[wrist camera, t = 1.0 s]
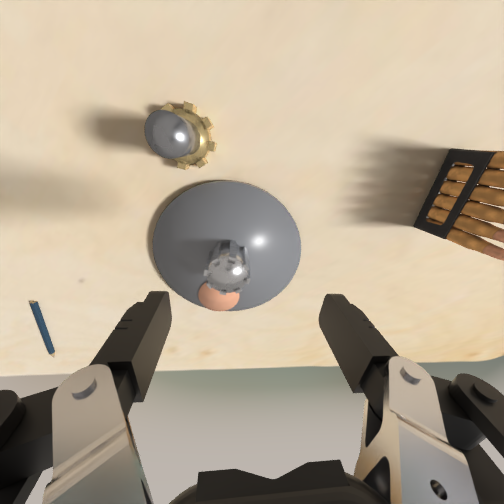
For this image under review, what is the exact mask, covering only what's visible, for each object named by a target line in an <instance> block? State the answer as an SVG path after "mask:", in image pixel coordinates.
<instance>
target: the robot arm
mask: <svg viewBox="0 0 504 504" xmlns="http://www.w3.org/2000/svg"><path fill="white" fill-rule="evenodd" d="M171 321H172V314H171V306H170V299H169V293H168V292H167V291H151V292H149V294H148V295H147V297H146V299H145V300H144V302H137V303H136V304H134V305H133V306H132V307H130V308H129V309H128V310H127V311H126V312H125V314H124V315H123V317H122V318H121V321H120V322H119V323H118V324H117V326H116V327H115V330H113V331H112V333H111V334H110V336H109V337H108V339H107V340H106V342H105V343H104V345H103V346H102V347H101V349H100V350H99V352H98V353H97V355H96V356H95V358H94V359H93V361H92V362H91V363H90V365H89V366H87V367H84V368H82V369H80V370H78V371H76V372H75V373H73V374H72V375H70V376H69V377H68V378H67V379H66V380H64V381H63V382H62V384H61V385H60V386H59V387H56V388H53V389H50V390H47V391H43V392H40V393H37V394H33V395H30V396H27V397H24V398H19V397H18V395H17V394H16V393H15V392H14V391H11V390H0V504H25V502H26V500H27V499H28V497H29V495H30V493H31V491H32V489H33V488H34V486H35V484H36V482H37V481H38V479H39V477H40V475H41V473H42V471H43V470H46V469H48V468H50V467H53V477H52V481H51V482H50V483H48V484H47V486H46V488H45V491H44V495H43V503H42V504H154V503H153V500H152V496H151V493H150V489H149V486H148V483H147V480H146V477H145V474H144V471H143V467H142V464H141V460H140V457H139V453H138V450H137V447H136V443H135V439H134V436H133V433H132V429H131V426H130V422H129V418H128V414H129V411H130V408H131V406H132V404H133V402H143V401H144V399H145V395H146V393H147V390H148V388H149V385H150V382H151V379H152V376H153V374H154V371H155V368H156V366H157V363H158V360H159V357H160V355H161V352H162V349H163V346H164V344H165V341H166V338H167V335H168V333H169V330H170V327H171ZM319 325H320V328H321V330H322V332H323V334H324V336H325V338H326V340H327V342H328V344H329V346H330V348H331V350H332V352H333V354H334V356H335V358H336V360H337V362H338V364H339V366H340V368H341V370H342V372H343V374H344V376H345V378H346V380H347V382H348V384H349V386H350V388H351V390H352V391H353V393H364V394H365V395H366V397H367V399H366V401H365V404H364V415H363V427H362V437H361V447H360V453H359V457H358V460H357V463H356V466H355V471H354V476H353V475H350V474H348V473H346V472H344V469H343V466H342V464H341V461H340V460H330V461H319V462H308V463H306V464H304V465H302V466H300V467H298V468H296V469H294V470H292V471H290V472H289V473H287V474H285V475H283V476H281V477H279V478H277V479H269V478H265V477H262V476H258V475H255V474H252V473H248V472H245V471H241V470H238V469H228V470H217V471H205V472H199V473H198V482H197V484H196V485H194V486H192V487H189V488H188V489H187V490H185V491H184V492H182V493H181V494H179V495H178V496H177V497H176V498H175V499H174V500H172V501H171V502H170V503H169V504H504V474H503V473H502V472H501V471H500V469H499V468H498V467H497V466H496V465H495V463H494V462H493V461H492V460H491V458H490V457H489V456H488V455H487V453H486V452H485V451H484V450H483V448H482V447H481V446H480V445H479V443H480V442H481V441H483V440H484V439H485V438H487V439H488V440H489V441H490V442H491V443H492V445H493V446H494V447H495V448H496V449H497V450H498V452H499V453H500V454H501V455H502V456H503V458H504V396H503V395H502V394H501V393H500V392H499V391H498V390H497V389H495V388H494V387H493V386H491V385H490V384H488V383H487V382H485V381H483V380H481V379H479V378H477V377H475V376H472V375H469V374H458V375H457V377H456V378H455V379H454V380H453V381H449V380H445V379H441V378H438V377H434V376H430V375H429V374H428V373H427V372H426V371H425V370H424V369H423V368H422V367H421V366H419V365H418V364H417V363H415V362H413V361H411V360H409V359H407V358H404V357H400V356H398V354H397V353H396V352H395V351H394V349H393V348H392V347H391V346H390V345H389V343H388V342H387V341H386V340H385V338H384V337H383V336H382V335H381V334H380V332H379V331H378V330H377V329H376V328H375V326H374V325H373V324H372V323H371V321H369V319H368V318H367V317H366V315H365V314H364V313H363V312H362V311H361V310H360V309H359V308H357V307H356V306H355V305H353V304H350V303H349V301H348V300H347V299H346V298H345V296H344V295H342V294H327V295H326V296H325V298H324V301H323V305H322V308H321V311H320V314H319Z"/></svg>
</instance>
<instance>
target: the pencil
mask: <svg viewBox="0 0 504 504" xmlns="http://www.w3.org/2000/svg"><path fill="white" fill-rule="evenodd" d="M30 306H31V308H32V311H33V314H34V316H35V319H36V322H37V324H38V327H39V329H40V332H41V335H42V337H43V340H44V342H45V345H46V348H47V350H48V352H49V354H50V355H51V356H53V357H54V354H55V350H54V347H53V345H52V342H51V339H50V336H49V333H48V330H47V327H46V325H45V322H44V319H43V316H42V313H41V310H40V308H39V305H38V302H37V301H30Z"/></svg>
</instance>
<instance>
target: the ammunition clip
mask: <svg viewBox="0 0 504 504" xmlns="http://www.w3.org/2000/svg"><path fill="white" fill-rule="evenodd" d="M465 166H474V167H465ZM486 168H487V169H486ZM500 169H504V151H478V150H464V149H450V150H449V153H448V155H447V157H446V159H445V161H444V163H443V165H442V167H441V169H440V171H439V174H438V176H437V178H436V180H435V182H434V184H433V186H432V188H431V190H430V192H429V195H428V197H427V199H426V201H425V203H424V205H423V207H422V209H421V211H420V213H419V216H418V218H417V220H416V222H415V224H414V227H415V228H418V229H420V230H423V231H425V232H428V233H430V234H433V235H435V236H438V237H440V238H443V239H448V240H450V241H452V242H454V243H457V244H459V245H461V246H463V247H466V248H468V249H471V250H475V251H478V252H481V253H483V254H486V255H489V256H491V257H494V258H497V259H500V260H504V249H503V248H501V247H498V246H496V245H494V244H492V243H489V242H487V241H485V240H484V239H482V238H481V237H478V236H483V237H487V238H490V239H493V240H497V241H500V242H503V243H504V229H501V228H499V227H496V226H494V225H492V224H490V223H488V222H485V221H489V222H496V223H501V224H504V209H501V208H499V207H495V206H491V205H487V204H492V205H496V206H504V190H502V189H497V188H491V187H489V186H494V187H500V188H504V170H500ZM457 181H462V182H466V183H462V182H457ZM477 184H479V185H477ZM450 195H452V196H450ZM454 196H456V197H454ZM468 199H470V200H468ZM479 202H483V203H487V204H483V203H479ZM444 208H445V209H444ZM447 209H448V210H447ZM450 210H451V211H450ZM460 213H461V214H460ZM472 217H475V218H478V219H481V220H478V219H475V218H472ZM482 220H485V221H482ZM463 230H464V231H463ZM465 231H467V232H465ZM468 232H469V233H468ZM471 233H472V234H471ZM473 234H475V235H473ZM476 235H478V236H476Z"/></svg>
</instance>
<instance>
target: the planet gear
mask: <svg viewBox="0 0 504 504" xmlns="http://www.w3.org/2000/svg"><path fill="white" fill-rule="evenodd" d="M161 109H162V110H157V111H155V112H153V113H151V114H150V115H149V117H148V118H147V120H146V123H145V136H146V139H147V142H148V144H149V146H150V147H151V148H152V150H153V151H154V152H156V153H157V154H158V155H160V156H162V157H164V158H168V159H174V160H175V161H177V162H178V166H177V168H180V169H184V170H186V169H189V166H190V164H194V163H196V164H197V166H198V167H199V168H200V167H202V166H204V165H205V164H207V163H208V162H207V160H206V158H205V157H206V156H207V155H208V153H209V151H213V152H214V151H215V150H216V145H217V143H215V142H212V141H211V134H210V131H209V130H210V129H212V128H213V127H214V126H213V124H212V123H211V121H210V119H209V118H208V117H205V118H204V119H202V118H200V117H199V116H198V115H197V114H196V110H197V107H196V106H195V105H193V104H191V103H188V102H185V101H184V106H183V109H182V108H179V109H175V108H174V106H172V105H170V104H166V105H165V106H164V107H162V108H161Z"/></svg>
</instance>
